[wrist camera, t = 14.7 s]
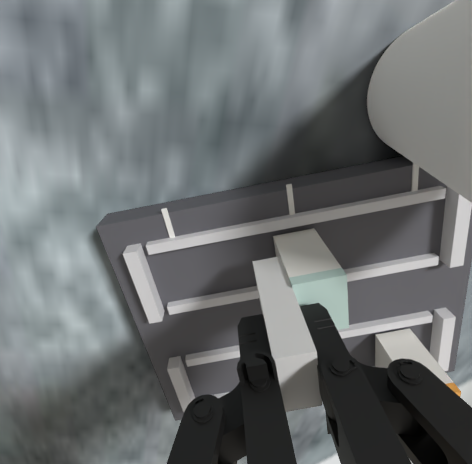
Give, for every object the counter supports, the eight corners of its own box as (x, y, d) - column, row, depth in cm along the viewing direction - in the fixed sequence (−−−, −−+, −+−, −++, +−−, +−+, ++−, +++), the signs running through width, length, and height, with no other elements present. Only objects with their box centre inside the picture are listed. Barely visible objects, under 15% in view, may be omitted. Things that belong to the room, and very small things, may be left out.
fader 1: (279, 278, 19) (298, 337, 15) (272, 235, 18) (291, 285, 14) (317, 271, 19) (349, 328, 15) (314, 228, 18) (346, 274, 14)
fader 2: (375, 365, 23) (414, 433, 18) (375, 334, 22) (417, 399, 17) (407, 359, 23) (455, 426, 18) (409, 328, 22) (461, 391, 17)
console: (179, 400, 27) (174, 435, 24) (105, 209, 19) (87, 229, 17) (437, 353, 26) (463, 384, 23) (462, 139, 19) (504, 148, 16)
